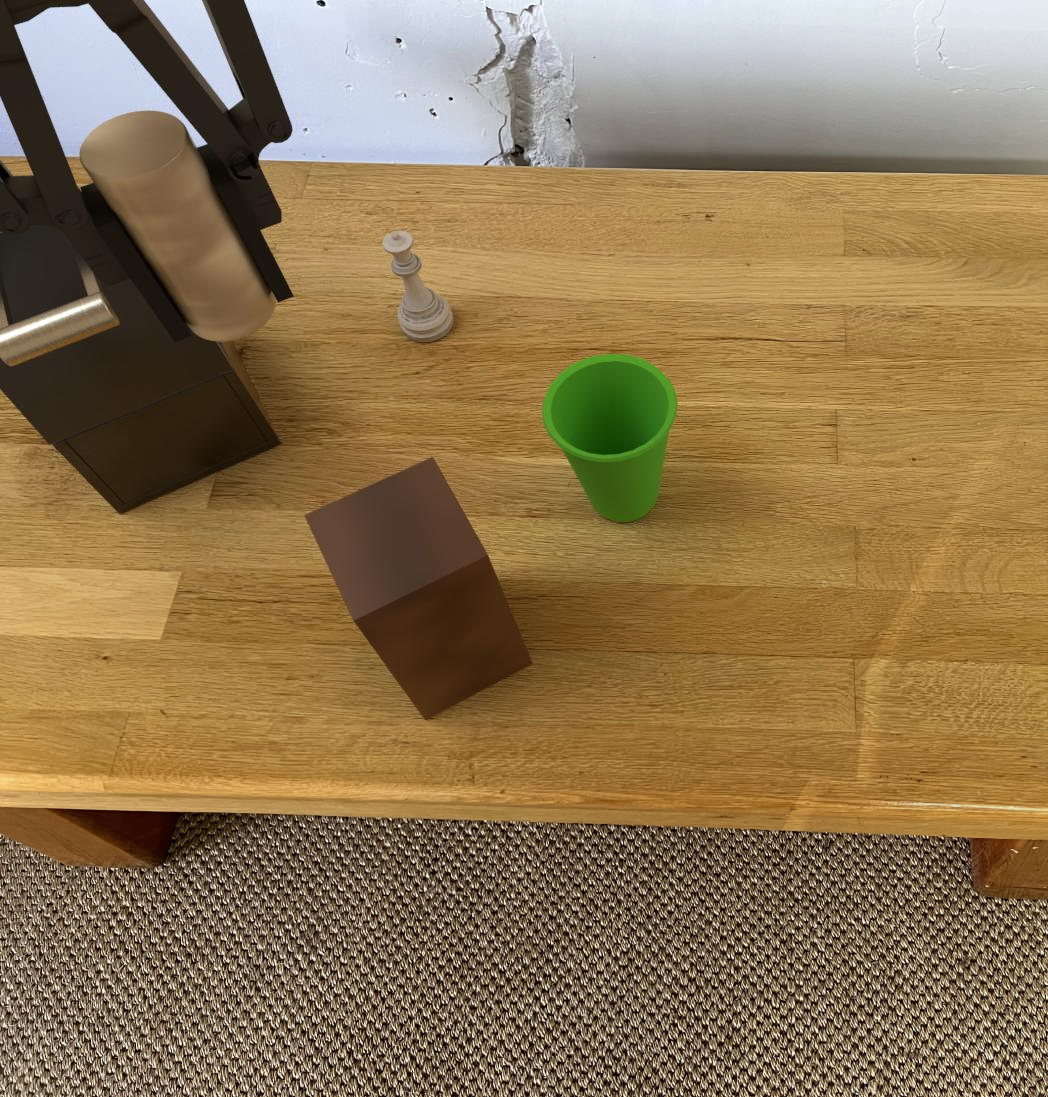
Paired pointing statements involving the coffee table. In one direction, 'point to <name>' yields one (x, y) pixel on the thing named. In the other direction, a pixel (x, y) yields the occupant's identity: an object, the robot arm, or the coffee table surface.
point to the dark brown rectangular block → (421, 587)
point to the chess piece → (416, 293)
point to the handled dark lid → (84, 340)
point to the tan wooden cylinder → (179, 222)
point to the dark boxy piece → (173, 439)
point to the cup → (613, 430)
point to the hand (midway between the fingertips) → (226, 299)
